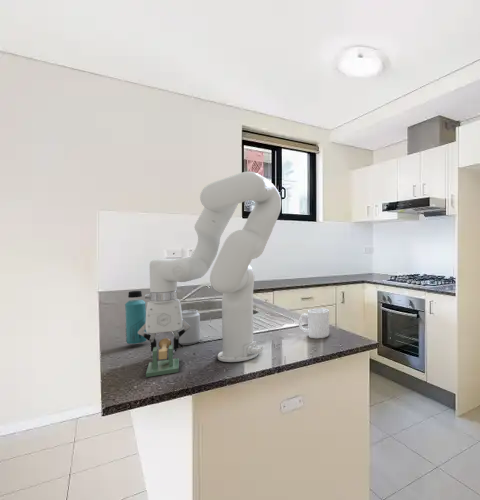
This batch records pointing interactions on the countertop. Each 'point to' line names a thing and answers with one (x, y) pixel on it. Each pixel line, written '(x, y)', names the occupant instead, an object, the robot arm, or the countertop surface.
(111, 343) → the countertop surface
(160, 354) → the spoon
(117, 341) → the countertop surface
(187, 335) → the can
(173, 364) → the spoon stand
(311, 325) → the cup
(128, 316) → the beverage bottle
